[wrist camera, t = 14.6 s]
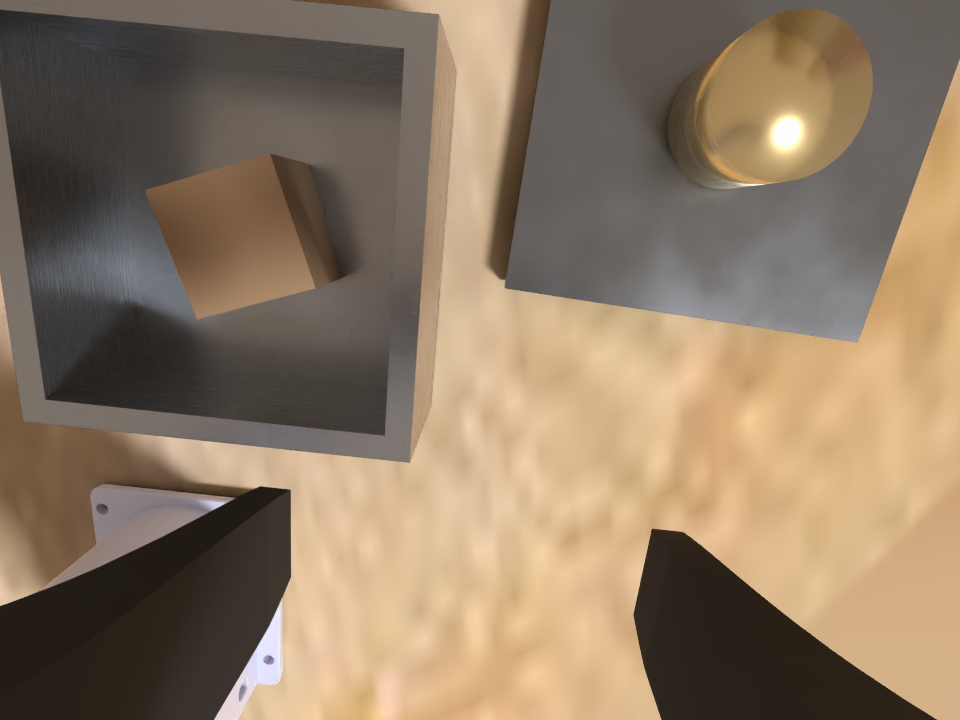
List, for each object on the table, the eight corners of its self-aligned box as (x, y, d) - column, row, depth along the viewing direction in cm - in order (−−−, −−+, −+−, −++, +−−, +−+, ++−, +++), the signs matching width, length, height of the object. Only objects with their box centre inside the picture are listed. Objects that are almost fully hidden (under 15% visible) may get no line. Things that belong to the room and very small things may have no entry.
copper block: (344, 277, 19) (315, 288, 16) (243, 303, 19) (197, 319, 16) (307, 163, 18) (269, 153, 15) (201, 194, 18) (144, 190, 15)
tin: (431, 404, 20) (409, 462, 16) (134, 373, 21) (23, 421, 16) (456, 70, 17) (439, 14, 12) (104, 36, 17) (-48, -33, 13)
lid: (833, 333, 19) (939, 371, 15) (504, 283, 19) (505, 304, 15) (966, -55, 16) (1159, -168, 11) (569, -117, 16) (597, -256, 11)
